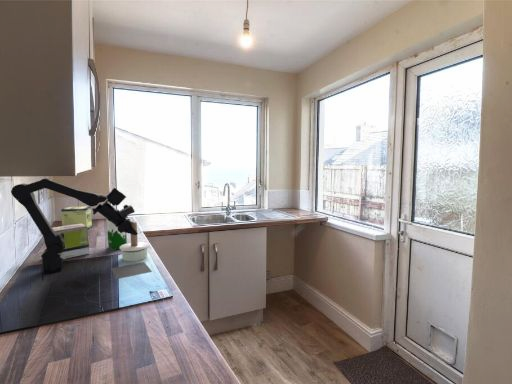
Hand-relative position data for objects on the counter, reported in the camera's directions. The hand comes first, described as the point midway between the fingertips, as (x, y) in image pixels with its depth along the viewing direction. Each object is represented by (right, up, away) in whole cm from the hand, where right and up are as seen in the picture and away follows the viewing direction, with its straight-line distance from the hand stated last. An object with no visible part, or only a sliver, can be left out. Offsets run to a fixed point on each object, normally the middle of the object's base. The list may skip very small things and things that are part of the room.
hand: (136, 233), depth 139 cm
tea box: (-36, -12, +5) cm, 38 cm away
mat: (+4, -14, -16) cm, 22 cm away
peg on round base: (-1, -7, 0) cm, 7 cm away
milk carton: (-18, -10, +18) cm, 28 cm away
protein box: (-67, -6, +62) cm, 91 cm away
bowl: (-1, -12, +1) cm, 12 cm away
